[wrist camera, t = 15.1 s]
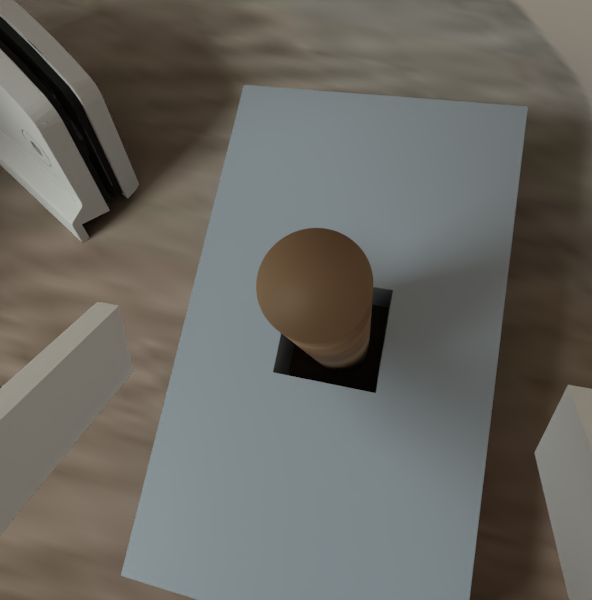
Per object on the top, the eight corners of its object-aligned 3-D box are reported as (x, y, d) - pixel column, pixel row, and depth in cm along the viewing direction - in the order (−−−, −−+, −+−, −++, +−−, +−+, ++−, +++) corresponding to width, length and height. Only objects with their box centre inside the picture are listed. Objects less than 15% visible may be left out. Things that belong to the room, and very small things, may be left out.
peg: (307, 366, 24) (244, 330, 12) (318, 311, 25) (269, 220, 12) (363, 377, 24) (362, 352, 11) (373, 321, 24) (382, 236, 12)
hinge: (-61, 108, 32) (-182, -55, 23) (1, 78, 34) (-90, -84, 25) (86, 246, 28) (7, 112, 19) (148, 204, 30) (101, 63, 21)
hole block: (442, 629, 21) (459, 681, 17) (162, 546, 23) (120, 575, 19) (503, 151, 25) (528, 106, 21) (261, 129, 28) (243, 84, 24)
